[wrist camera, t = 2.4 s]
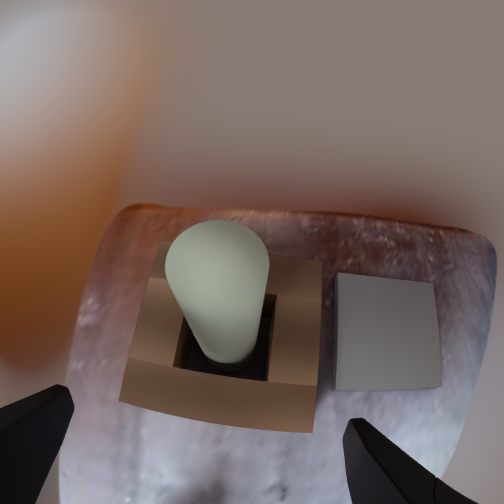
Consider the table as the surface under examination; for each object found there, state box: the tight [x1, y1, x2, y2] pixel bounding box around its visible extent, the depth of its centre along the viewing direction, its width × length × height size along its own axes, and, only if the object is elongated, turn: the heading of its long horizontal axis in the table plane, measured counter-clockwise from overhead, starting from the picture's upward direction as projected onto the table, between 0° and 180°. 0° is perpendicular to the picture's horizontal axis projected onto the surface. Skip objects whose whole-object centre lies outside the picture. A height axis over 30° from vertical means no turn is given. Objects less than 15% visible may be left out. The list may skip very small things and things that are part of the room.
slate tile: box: [331, 272, 442, 392], centre depth 21 cm, size 9×9×1 cm
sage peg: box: [165, 220, 269, 371], centre depth 15 cm, size 4×4×12 cm
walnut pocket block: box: [119, 241, 322, 433], centre depth 19 cm, size 11×11×4 cm
